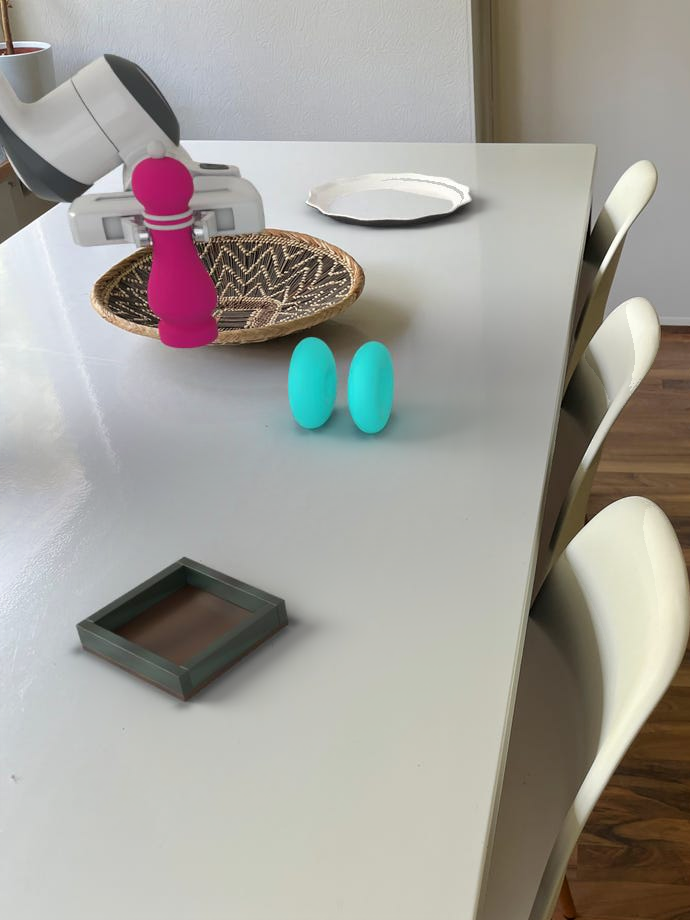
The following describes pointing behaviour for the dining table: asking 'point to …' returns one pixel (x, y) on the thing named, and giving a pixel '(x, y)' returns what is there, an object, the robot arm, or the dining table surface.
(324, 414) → the donuts
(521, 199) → the dining table surface
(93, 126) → the robot arm
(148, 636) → the square tray
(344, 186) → the plate
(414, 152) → the dining table surface
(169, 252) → the pepper mill
